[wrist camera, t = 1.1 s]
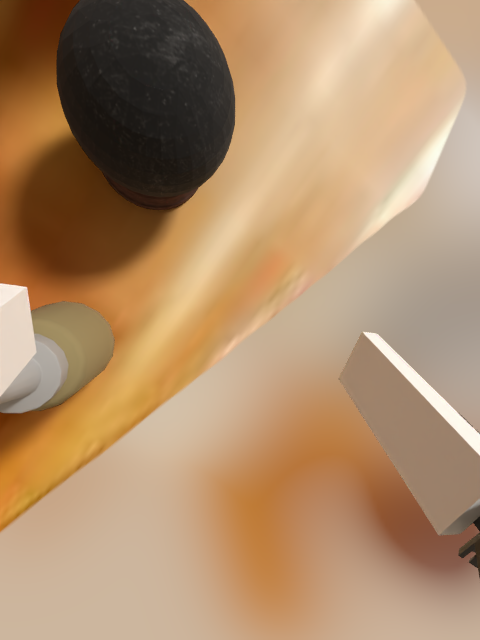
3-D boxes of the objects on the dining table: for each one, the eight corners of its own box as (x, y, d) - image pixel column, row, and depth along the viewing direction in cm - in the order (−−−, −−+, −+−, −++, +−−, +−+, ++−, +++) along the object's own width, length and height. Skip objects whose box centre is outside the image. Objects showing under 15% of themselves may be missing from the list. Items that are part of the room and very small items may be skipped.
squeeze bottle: (60, 389, 30) (-64, 517, 13) (16, 321, 28) (-196, 365, 11) (132, 352, 32) (109, 422, 14) (95, 287, 30) (20, 278, 13)
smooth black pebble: (227, 130, 33) (285, 3, 18) (192, 237, 32) (224, 193, 18) (108, 64, 28) (65, -165, 14) (68, 187, 28) (-17, 79, 14)
